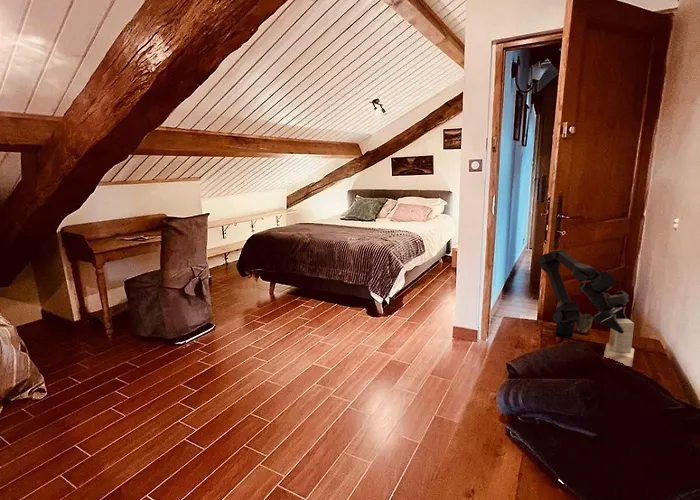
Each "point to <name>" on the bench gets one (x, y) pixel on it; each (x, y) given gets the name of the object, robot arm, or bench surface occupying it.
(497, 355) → the bench surface
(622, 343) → the skincare box
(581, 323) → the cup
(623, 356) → the birch block
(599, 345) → the bench surface
